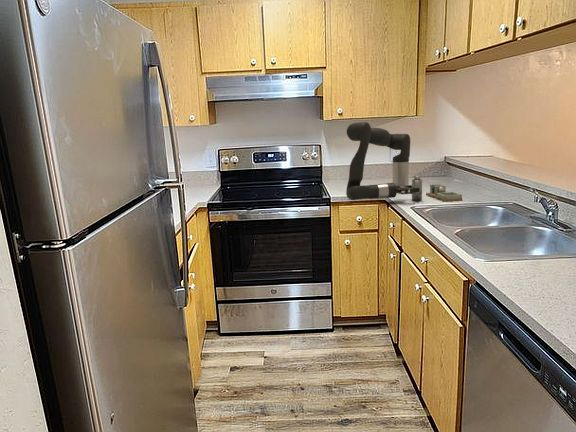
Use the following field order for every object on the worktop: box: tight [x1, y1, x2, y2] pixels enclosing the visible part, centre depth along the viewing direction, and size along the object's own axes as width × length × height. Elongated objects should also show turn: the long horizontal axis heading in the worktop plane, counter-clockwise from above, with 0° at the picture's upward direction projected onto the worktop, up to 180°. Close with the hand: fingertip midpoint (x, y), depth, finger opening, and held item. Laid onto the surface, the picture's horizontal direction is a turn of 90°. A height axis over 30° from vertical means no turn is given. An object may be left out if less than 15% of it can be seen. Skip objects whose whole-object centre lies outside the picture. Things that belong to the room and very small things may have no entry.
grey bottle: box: [411, 175, 423, 203], centre depth 232 cm, size 5×5×13 cm
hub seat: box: [437, 191, 463, 199], centre depth 232 cm, size 9×9×2 cm
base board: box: [425, 192, 463, 203], centre depth 238 cm, size 21×10×1 cm, turn 8°
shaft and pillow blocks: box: [429, 183, 446, 195], centre depth 243 cm, size 9×5×5 cm, turn 7°
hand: (415, 188), depth 232 cm, fingers open, 8 cm apart
